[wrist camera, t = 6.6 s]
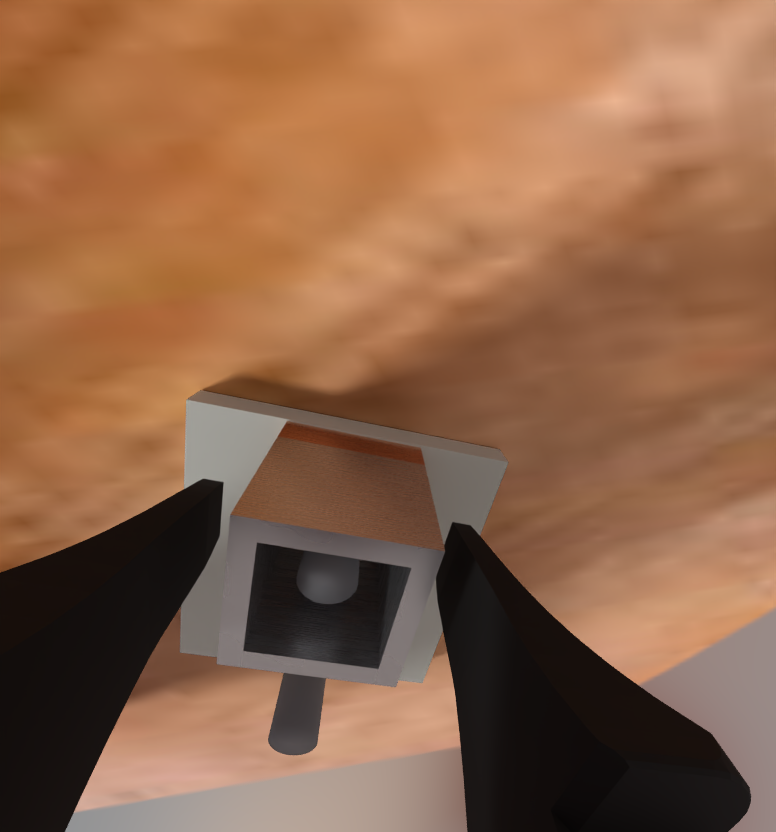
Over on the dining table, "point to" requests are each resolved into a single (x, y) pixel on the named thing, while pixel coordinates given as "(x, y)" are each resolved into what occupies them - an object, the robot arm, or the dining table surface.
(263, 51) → the dining table surface
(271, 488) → the sleeve
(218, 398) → the pin board
